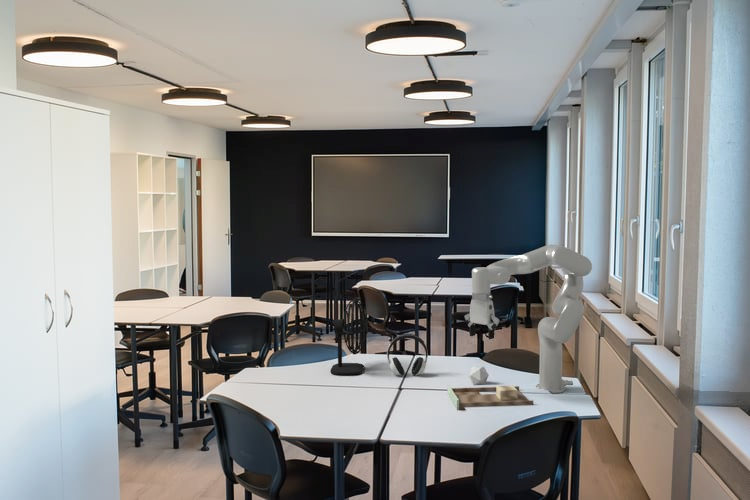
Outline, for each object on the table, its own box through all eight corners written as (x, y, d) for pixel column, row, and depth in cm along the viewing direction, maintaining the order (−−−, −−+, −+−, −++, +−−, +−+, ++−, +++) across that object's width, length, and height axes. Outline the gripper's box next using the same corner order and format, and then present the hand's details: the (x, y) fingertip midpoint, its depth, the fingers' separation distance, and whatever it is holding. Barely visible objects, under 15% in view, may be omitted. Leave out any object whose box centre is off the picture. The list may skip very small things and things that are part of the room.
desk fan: (365, 378, 327) (364, 303, 324) (327, 377, 328) (326, 303, 326) (369, 364, 354) (368, 295, 351) (334, 364, 355) (334, 295, 353)
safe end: (449, 394, 299) (449, 385, 299) (458, 409, 278) (458, 399, 277) (447, 394, 299) (447, 385, 299) (456, 409, 278) (456, 400, 277)
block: (512, 394, 294) (512, 385, 293) (517, 399, 287) (517, 390, 286) (496, 395, 293) (496, 385, 293) (500, 400, 286) (500, 390, 286)
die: (483, 389, 309) (493, 370, 312) (466, 379, 311) (476, 360, 313) (480, 390, 317) (490, 372, 320) (463, 380, 318) (474, 362, 321)
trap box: (518, 392, 301) (518, 386, 301) (533, 407, 280) (533, 400, 280) (449, 394, 299) (449, 388, 299) (458, 409, 278) (458, 403, 277)
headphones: (427, 373, 336) (426, 331, 334) (428, 377, 327) (428, 335, 326) (386, 373, 335) (386, 332, 334) (387, 378, 327) (387, 335, 325)
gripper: (503, 297, 290) (504, 338, 292) (470, 294, 303) (470, 333, 304) (493, 299, 285) (493, 341, 287) (459, 296, 297) (460, 336, 299)
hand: (481, 337), depth 295 cm, fingers open, 9 cm apart
